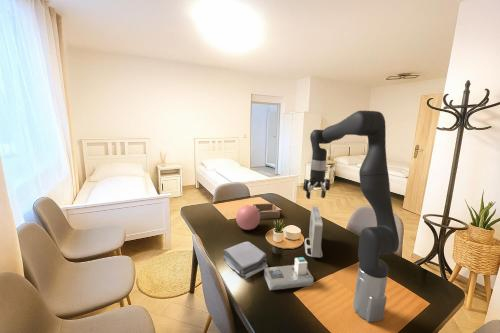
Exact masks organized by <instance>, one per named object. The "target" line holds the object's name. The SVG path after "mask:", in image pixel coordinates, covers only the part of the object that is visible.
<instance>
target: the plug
mask: <svg viewBox="0 0 500 333" xmlns="http://www.w3.org/2000/svg"><path fill="white" fill-rule="evenodd" d="M293 265H294V273H295V274H296V276H304V275H306V273H307V269H308V261H307V260H306V259H305V258H304V257H303V256H302V257H301V256H300V257H294V264H293Z"/></svg>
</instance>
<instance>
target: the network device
mask: <svg viewBox="0 0 500 333" xmlns="http://www.w3.org/2000/svg"><path fill="white" fill-rule="evenodd" d="M323 226H324V223H323V220H322V216H321V212H320V209H319V207H318V206H311V210H310V220H309V230H308V232H309V233H308V237H306V238H304V252H305V254H306V256H308V257H313V258H322V257H323V251H322V239H323V238H322V236H323V229H324V227H323ZM307 241H309V244H307ZM308 250H310V253H311V254H310V253H308Z"/></svg>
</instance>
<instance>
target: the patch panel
mask: <svg viewBox="0 0 500 333" xmlns="http://www.w3.org/2000/svg"><path fill="white" fill-rule="evenodd" d="M263 276H264V279H265V282H266V284H267V286H268V290H269V291H276V290H285V289H286V290H287V289H293V288H300V287H308V286H309V287H310V286H314V276H313V275H312V273H311V272H310V270H309V269H308V268H307V273H306V275H304V276H296V274H295V273H294V264H291V265H290V264H288V265H282V266H280V265H279V266H271V267H269V266H268V267H267V268H264V269H263Z"/></svg>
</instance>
